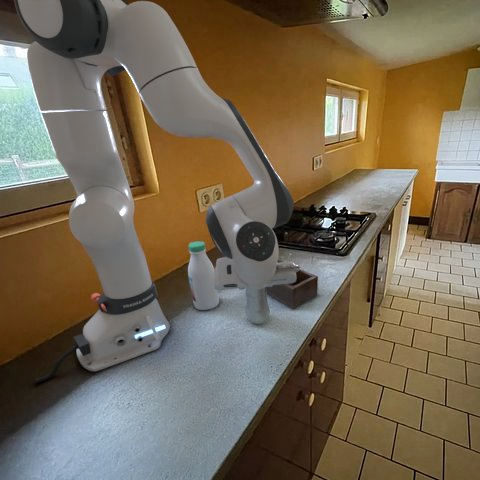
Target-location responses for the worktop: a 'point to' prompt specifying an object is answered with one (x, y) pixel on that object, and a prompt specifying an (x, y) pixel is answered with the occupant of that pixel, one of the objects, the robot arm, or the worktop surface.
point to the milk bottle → (201, 278)
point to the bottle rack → (295, 290)
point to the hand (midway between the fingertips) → (255, 285)
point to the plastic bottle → (257, 306)
